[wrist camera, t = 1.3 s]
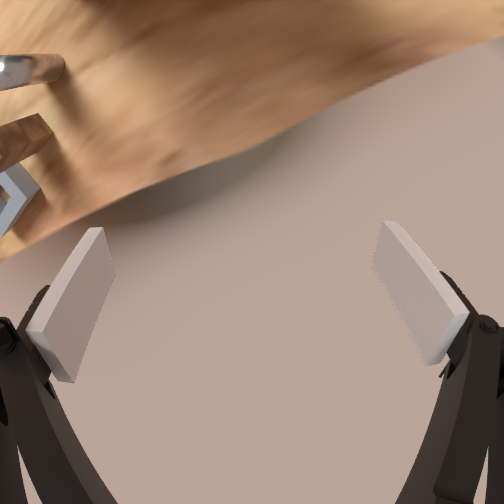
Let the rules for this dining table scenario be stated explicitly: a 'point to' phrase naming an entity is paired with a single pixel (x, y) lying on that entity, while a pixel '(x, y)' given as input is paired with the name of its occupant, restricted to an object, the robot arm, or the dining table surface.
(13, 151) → the square bit
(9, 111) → the dining table surface
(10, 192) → the bore block
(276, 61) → the dining table surface
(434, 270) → the robot arm
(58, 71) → the round bit
